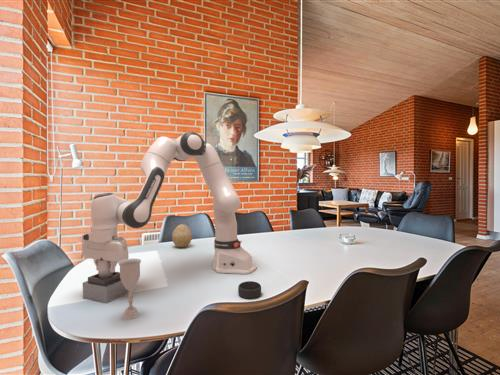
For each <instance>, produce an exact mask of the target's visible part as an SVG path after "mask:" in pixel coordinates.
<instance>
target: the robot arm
mask: <svg viewBox="0 0 500 375" xmlns="http://www.w3.org/2000/svg"><path fill="white" fill-rule="evenodd" d="M190 159H193V160H195V162H196V163H197V165H198V168H199V170H200V172H201V175H202V177H203V179H204V181H205V184H206V186H207V187H208V189H209V192H210V193H211V195H212V205H213V206H212V208H213V218H214V232H215V233H214V235H215V236H214V238H215V239H213V240H214V245H213V246H214V256H213V257H214V258H213V263H212V269H213V270H214V271H215V273H218V274H233V275H235V274H236V275H237V274H238V275H248V274H252V273H253V272H255V270H257V268H258V265H257V264H256V263H254V262H253V257H252V255H251V254H250V253H249V252H248V251H246V250H245V249H244V248H243V247H242V246H241V244H242V243H243V242H242V241H243V240H239V239H238V221H237V219H236V211H238V210H239V208H240V207H241V199H240V197H239V195H238V193H237V191H236V189H235V186H234V185H233V184H232V182H231V180H230V178H229V177H228V174H227V172H226V170H225V168H224V167H225V166H224V165H223V163H222V161H221V159H220V155H219V154H218V152H217V150H216V149H215V148H214V146H213V145H212V144H211V143H208V142H206V141H205V140H204V139H203V137H202V136H201V134H198V132H195V131H189V132H185V133H183V134H181V135H180V136H178V137H177V138H176V139H174V140H173V139H171V138H170V137H168V136H159V137H158V138H156V140H155V141H154V142H152V144H151V145H150V147H149V148H148V149H147V151H146V152H145V154H144V156H143V157H142V160H141V162H140V171H141V172H142V174H143V175H144V176H145V182H144V184H143V185H142V188H141V190H140V192H139V194H138V196H137V197H136V199H134V200H128V199H125V198H123V197H119V196H117V195H116V194H114V193H112V192H105V193H100V194H97V195H95V196H93V198H92V199H91V203H90V204H91V205H90V219H91V221H92V222H91V224H92V225H91V228H90V229H91V231H89V232H87V233H84V234H82V235H81V240H82V243H81V249H82V250H81V253H82V256H83V258H85V259H89V260H93V263H94V265H95V266H96V271H98V260H100V258H102V259H103V260H105V261H110V264H111V267H110V268H109V272H112V273H113V272H116V267H117V265H118V262H119V261H121V260H125V259H129V249H128V244H127V240H126V239H125V238H124V237H123V236H118V225H120V224H122V225H124V226H128V227H130V228H133V229H140V228H144V227H145V226H146V225H147V224H148V223H149V222H150V220H151V217H152V214H153V213H152V212H153V208H154V207H153V206H154V203H155V201H156V198H157V197H158V194H159V192H160V190H161V187H162V185H163V183H164V180H165V175H166V173H167V171H168V168H169V167H170V165H171V164H172V161H173V160H175V161H179V162H184V161H189V160H190Z"/></svg>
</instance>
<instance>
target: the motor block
mask: <svg viewBox="0 0 500 375" xmlns="http://www.w3.org/2000/svg"><path fill="white" fill-rule="evenodd" d="M127 293H128V294H129V290H127V289H126V288H125V287H124V285H123V283H122V281H121V279H120V271H115V272H113V276H111V277H108V278H106V279H102V278H98V273H96V274H93V275H91V276H88V277H87V280H86V281H84V282H83V281H82V298H83V299H85V300H90V301H95V302H99V303H105V304H108V303H110V302H112V301H114V300H116V299H118V298H120V297H123V296H124V295H126V294H127Z"/></svg>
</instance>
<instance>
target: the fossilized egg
mask: <svg viewBox="0 0 500 375" xmlns="http://www.w3.org/2000/svg"><path fill="white" fill-rule="evenodd" d="M192 239H193V233H192V231H191V229H190V228H189V226H187V225H186V224H184V223H181V224H178V225H177V226H176V227H175V228H174V230H173V232H172V234H171V240H172V243H173V244H174V246H176V247H177V248H185V247H187V246H189V245H190V244H191V242H192Z"/></svg>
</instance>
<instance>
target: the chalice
mask: <svg viewBox="0 0 500 375" xmlns="http://www.w3.org/2000/svg"><path fill="white" fill-rule="evenodd" d="M141 262H142V259H140V258H128V259H125V260H121V261H119V262H118V263H117V265H119V272H120V279H121V281H122V283H123V285H124V287H125V288H126V289H127V290H128V295H127V297H128V300H127V302H128V307H127V308H125V310H124V312H123V315H122V318H123V319H124V320H131V319H135V318H137V317H139V315H140V312H139V311H138V308H137V307H136V306H133V302H134V299H133V297H134V294H133V290H135V289H136V286H137V284H138V282H139V280H140V276H141Z"/></svg>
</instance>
